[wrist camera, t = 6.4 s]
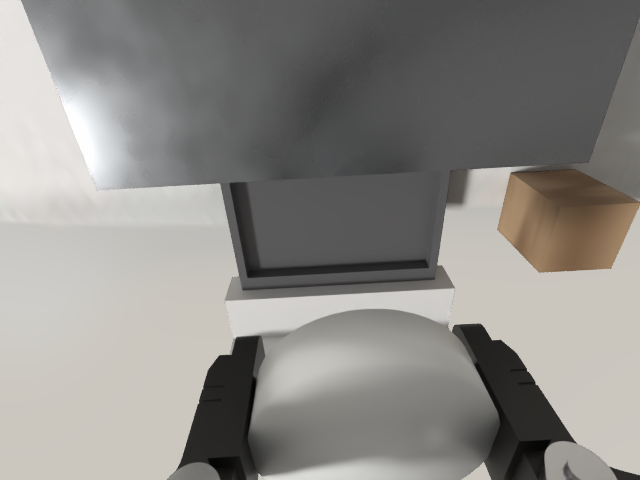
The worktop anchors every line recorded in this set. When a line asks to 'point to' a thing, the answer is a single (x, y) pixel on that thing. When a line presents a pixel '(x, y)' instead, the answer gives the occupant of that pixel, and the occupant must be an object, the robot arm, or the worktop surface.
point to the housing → (329, 84)
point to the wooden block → (565, 220)
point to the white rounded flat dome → (370, 402)
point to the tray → (335, 250)
